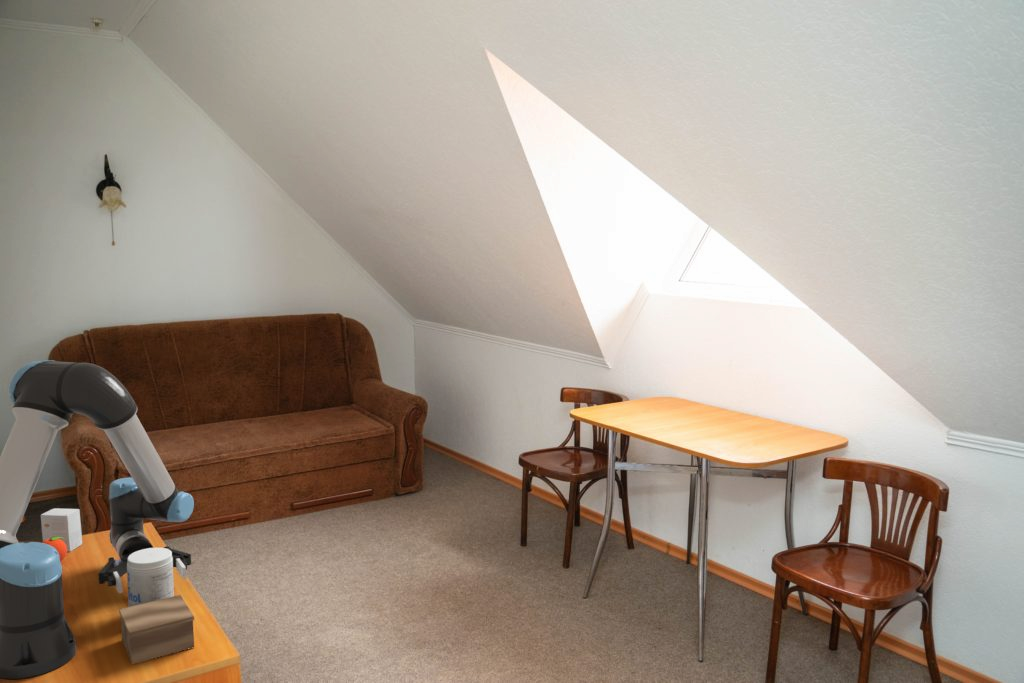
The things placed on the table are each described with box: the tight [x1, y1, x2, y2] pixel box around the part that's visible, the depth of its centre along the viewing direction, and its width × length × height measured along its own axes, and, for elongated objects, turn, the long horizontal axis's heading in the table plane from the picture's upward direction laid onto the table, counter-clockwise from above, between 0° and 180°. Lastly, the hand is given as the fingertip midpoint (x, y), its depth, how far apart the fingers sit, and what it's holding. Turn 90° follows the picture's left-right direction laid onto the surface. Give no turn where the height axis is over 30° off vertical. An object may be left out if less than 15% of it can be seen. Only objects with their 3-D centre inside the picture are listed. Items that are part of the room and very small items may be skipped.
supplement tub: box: [126, 547, 175, 607], centre depth 181 cm, size 10×10×15 cm
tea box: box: [118, 594, 195, 665], centre depth 169 cm, size 12×12×7 cm
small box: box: [40, 507, 83, 553], centre depth 221 cm, size 8×6×10 cm
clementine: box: [41, 537, 69, 562], centre depth 210 cm, size 8×7×7 cm
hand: (153, 580), depth 181 cm, fingers open, 13 cm apart
